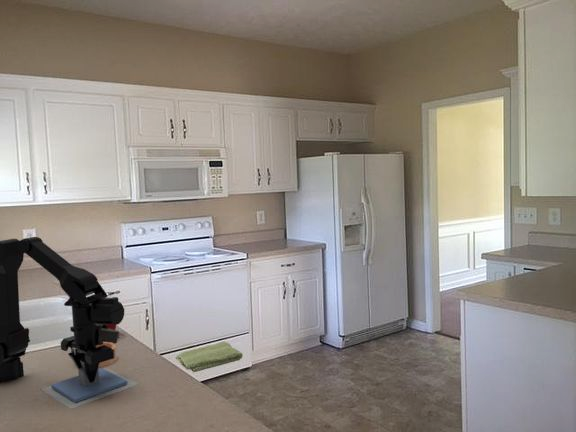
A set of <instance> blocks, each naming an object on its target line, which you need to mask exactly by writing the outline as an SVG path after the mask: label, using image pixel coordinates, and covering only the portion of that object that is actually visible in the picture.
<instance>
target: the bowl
mask: <svg viewBox="0 0 576 432" xmlns="http://www.w3.org/2000/svg"><path fill="white" fill-rule="evenodd" d="M103 345H105V346H108V347H110V348H112V349H113V350H114V353H115V358H114V359H110V360H107V361H104V362H101V363H99V366H98V369H101V368H105V367H106V366H110V365H112V364H113V363H115V362H117V360H118V359H117V356H118V354H117V352H118V351H117V343H116V344H114V343H111V342H103V344H102V345H97V347H99V346H103Z"/></svg>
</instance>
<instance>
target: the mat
mask: <svg viewBox="0 0 576 432" xmlns="http://www.w3.org/2000/svg"><path fill="white" fill-rule="evenodd" d="M102 368H103V369H105V370H107V371H109V372H111V373H113V374H115V375H117V376H119V377H121V378H123V379H125V380H127V383H128V384H126V385H123V386H120V387H117V388H114V389H112V390H109V391H106V392H103V393H101V394H98V395H95V396H92V397H89V398H87V399H84V400H81V401H78V402H73V401H72V400H70V399H69V398H67V397H66V396H64V395H62V394H61V393H59V392H58V391H56V390H55V389H53V388H52V387H51V385H49V386H45V387H41V388H40V390H42V391H43V392H44V393H46V394H47V395H48V396H51V397H52V398H54V399H55V400H56V401H58V402H59V403H61V405H64V406H65V407H67V408H68V409H70V410H72V409H75V408H77V407H80V406H83V405H86V404H89V403H91V402H93V401H96V400H99V399H102V398H105V397H108V396H110V395H114V394H115V393H116V394H117V393H118V392H121V391H124V390H126V389H129V388H132V387H135V386H138V385H139V383H138V382H135V381H133V380H131V379H129V378H127V377H125V376H123V375H121V374H119V373H117V372H115V371H113V370H111V369H109V368H107V367H102Z"/></svg>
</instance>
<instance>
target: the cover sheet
mask: <svg viewBox="0 0 576 432" xmlns="http://www.w3.org/2000/svg"><path fill="white" fill-rule="evenodd" d="M103 368H104V367H100V368H98V369H97V373H96V377H95V381H94V382H91V383H90V382H89V380H88V378H87V375H86V373H85V371H84V368H79V369H78V368H77V370H78V375H77V376H73V377H70V378H67V379H64V380H62V381H58V382H55V383H52V384H50V386H51V387H52V388H53V389H55V390H56V391H58V392H59V393H61V394H62V395H64V396H66V397H67V398H69V399H70V400H72V401H73V402H78V401H81V400H84V399H87V398H89V397H92V396H95V395H98V394H101V393H103V392H106V391H109V390H112V389H114V388H117V387H120V386H123V385H126V384H128V383H127V380H125V379H123V378H121V377H119V376H117V375H115V374H113V373H111V372H109V371H107V370H105V369H103Z"/></svg>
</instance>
